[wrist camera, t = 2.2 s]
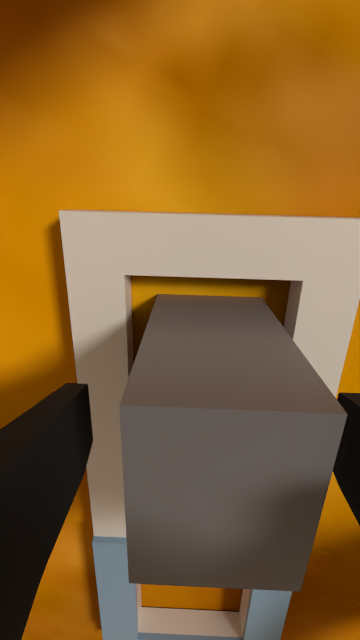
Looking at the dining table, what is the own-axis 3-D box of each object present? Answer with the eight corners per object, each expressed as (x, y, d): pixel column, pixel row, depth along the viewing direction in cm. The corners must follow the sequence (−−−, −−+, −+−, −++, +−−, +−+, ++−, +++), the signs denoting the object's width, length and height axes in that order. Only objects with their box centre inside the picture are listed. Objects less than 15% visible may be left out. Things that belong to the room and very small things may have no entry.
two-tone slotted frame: (359, 217, 11) (384, 220, 9) (267, 632, 20) (273, 665, 18) (71, 209, 11) (54, 210, 10) (110, 624, 20) (104, 656, 19)
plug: (261, 297, 12) (347, 414, 5) (247, 406, 14) (300, 591, 7) (157, 293, 12) (119, 404, 6) (157, 402, 14) (128, 583, 7)
